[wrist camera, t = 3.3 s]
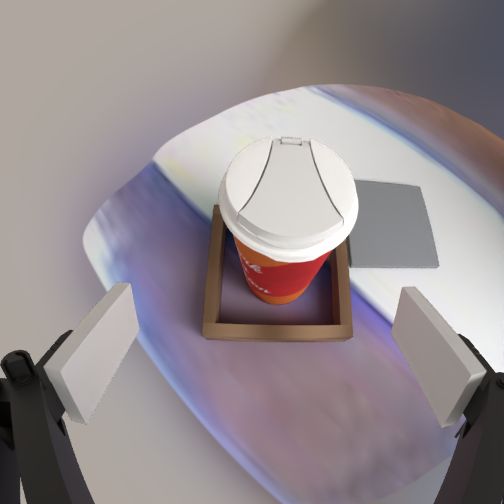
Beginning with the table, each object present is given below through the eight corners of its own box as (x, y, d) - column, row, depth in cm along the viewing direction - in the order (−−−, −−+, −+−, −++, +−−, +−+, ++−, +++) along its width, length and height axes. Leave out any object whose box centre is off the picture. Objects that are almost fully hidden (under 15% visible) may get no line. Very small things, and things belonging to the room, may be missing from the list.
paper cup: (239, 236, 30) (225, 126, 17) (318, 240, 29) (354, 135, 16) (231, 315, 26) (205, 246, 14) (318, 320, 26) (373, 255, 13)
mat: (417, 189, 32) (419, 186, 31) (436, 268, 28) (439, 265, 27) (339, 182, 32) (341, 179, 32) (350, 267, 28) (352, 265, 27)
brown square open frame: (336, 221, 30) (341, 207, 28) (344, 341, 25) (352, 336, 23) (217, 218, 30) (214, 204, 28) (206, 339, 25) (201, 334, 23)
